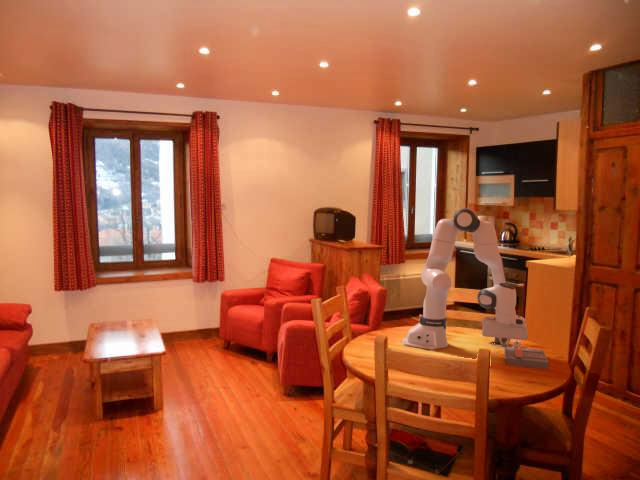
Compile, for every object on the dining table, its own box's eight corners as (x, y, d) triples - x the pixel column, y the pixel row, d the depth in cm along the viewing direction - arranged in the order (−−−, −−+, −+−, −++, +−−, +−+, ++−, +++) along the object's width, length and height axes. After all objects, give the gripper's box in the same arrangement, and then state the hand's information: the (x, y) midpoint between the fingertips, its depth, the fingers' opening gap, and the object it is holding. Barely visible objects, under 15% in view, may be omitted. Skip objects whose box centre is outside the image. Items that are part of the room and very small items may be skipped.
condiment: (510, 344, 250) (511, 321, 249) (500, 347, 245) (501, 323, 244) (498, 340, 256) (499, 318, 255) (488, 343, 251) (489, 320, 250)
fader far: (513, 350, 228) (513, 343, 228) (512, 347, 233) (513, 340, 233) (520, 351, 227) (520, 343, 227) (519, 348, 232) (519, 340, 232)
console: (506, 364, 220) (507, 358, 219) (504, 352, 237) (504, 346, 236) (548, 369, 215) (548, 362, 214) (542, 356, 232) (543, 349, 231)
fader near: (515, 356, 220) (515, 349, 219) (514, 353, 224) (514, 345, 224) (522, 357, 219) (522, 349, 218) (521, 354, 224) (521, 346, 223)
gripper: (482, 318, 230) (481, 346, 232) (529, 321, 224) (527, 351, 226) (481, 314, 236) (480, 342, 238) (527, 318, 230) (526, 347, 232)
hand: (504, 346), depth 232 cm, fingers closed
